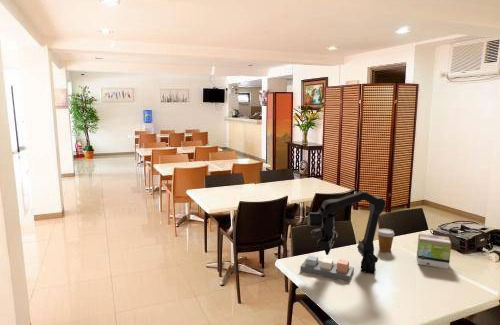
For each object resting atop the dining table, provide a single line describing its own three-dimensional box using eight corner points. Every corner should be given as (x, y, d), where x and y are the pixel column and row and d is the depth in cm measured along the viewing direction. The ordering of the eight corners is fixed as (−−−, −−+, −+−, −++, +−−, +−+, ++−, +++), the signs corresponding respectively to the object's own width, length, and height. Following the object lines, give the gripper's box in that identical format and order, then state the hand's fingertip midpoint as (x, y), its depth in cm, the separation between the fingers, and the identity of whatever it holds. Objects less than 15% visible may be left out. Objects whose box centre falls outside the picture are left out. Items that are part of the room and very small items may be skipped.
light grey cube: (317, 266, 185) (318, 257, 184) (315, 269, 181) (315, 260, 180) (308, 264, 187) (308, 255, 186) (305, 268, 183) (306, 258, 182)
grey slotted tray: (353, 272, 180) (353, 267, 179) (349, 282, 170) (349, 276, 170) (306, 263, 191) (306, 258, 190) (300, 271, 181) (300, 266, 181)
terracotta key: (348, 270, 178) (349, 260, 177) (346, 274, 173) (347, 264, 173) (338, 268, 180) (339, 258, 179) (336, 272, 176) (337, 262, 175)
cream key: (332, 269, 181) (333, 259, 181) (330, 273, 177) (330, 263, 176) (323, 267, 184) (323, 258, 183) (320, 271, 179) (321, 261, 178)
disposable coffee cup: (396, 253, 204) (397, 233, 202) (379, 253, 204) (380, 233, 202) (389, 247, 213) (391, 228, 211) (374, 247, 213) (375, 228, 212)
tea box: (417, 265, 189) (419, 238, 186) (416, 257, 198) (418, 232, 196) (449, 269, 183) (451, 242, 181) (446, 262, 192) (448, 236, 190)
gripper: (317, 218, 189) (316, 245, 191) (307, 228, 172) (306, 258, 174) (338, 221, 184) (337, 249, 186) (329, 231, 167) (328, 262, 169)
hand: (327, 254), depth 179 cm, fingers closed
